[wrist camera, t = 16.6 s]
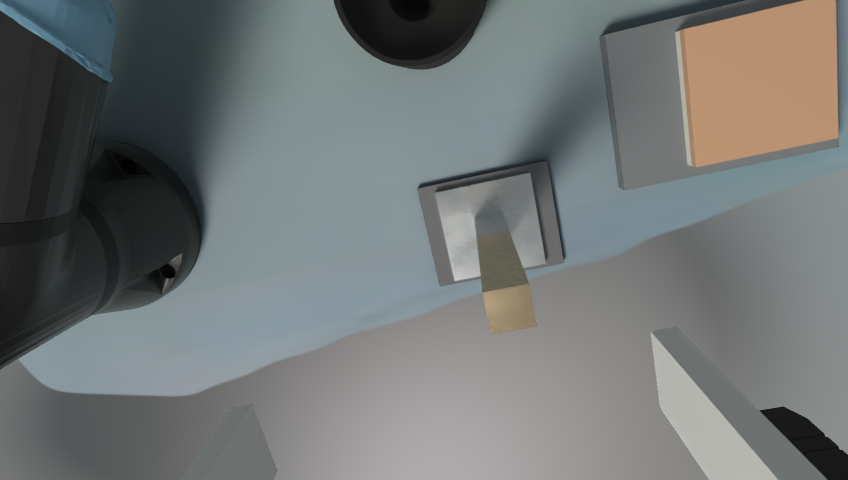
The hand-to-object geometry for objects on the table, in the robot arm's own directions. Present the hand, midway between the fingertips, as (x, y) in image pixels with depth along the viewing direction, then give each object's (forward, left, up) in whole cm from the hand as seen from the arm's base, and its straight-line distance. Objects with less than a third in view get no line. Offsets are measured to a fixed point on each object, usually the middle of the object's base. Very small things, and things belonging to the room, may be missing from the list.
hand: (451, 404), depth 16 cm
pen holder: (+1, +17, -28) cm, 33 cm away
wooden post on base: (+3, -2, -28) cm, 28 cm away
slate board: (+22, +6, -28) cm, 36 cm away
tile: (+19, +6, -26) cm, 32 cm away
